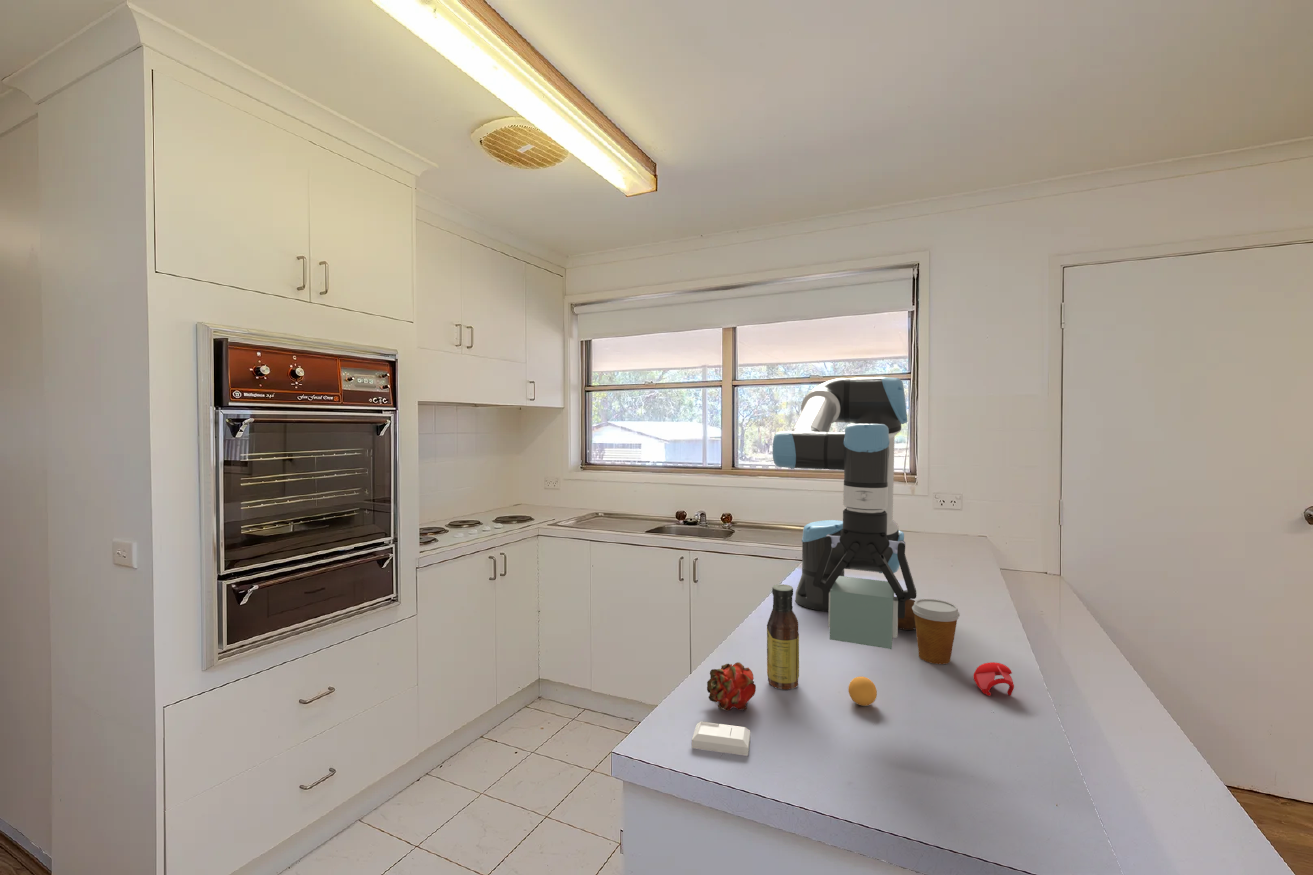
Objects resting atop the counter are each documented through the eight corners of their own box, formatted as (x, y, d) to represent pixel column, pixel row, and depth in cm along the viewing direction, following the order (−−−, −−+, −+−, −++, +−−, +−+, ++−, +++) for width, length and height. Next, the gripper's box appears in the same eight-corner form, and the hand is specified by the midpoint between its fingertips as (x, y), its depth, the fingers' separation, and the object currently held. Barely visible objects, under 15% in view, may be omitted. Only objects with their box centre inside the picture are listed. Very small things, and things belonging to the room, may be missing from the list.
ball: (846, 695, 104) (848, 707, 108) (876, 700, 103) (876, 712, 106) (848, 669, 108) (850, 681, 111) (877, 674, 106) (877, 686, 109)
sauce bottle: (778, 674, 119) (779, 579, 118) (805, 684, 115) (806, 586, 114) (759, 684, 114) (761, 586, 114) (786, 695, 110) (788, 593, 109)
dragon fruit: (709, 727, 102) (741, 709, 111) (746, 710, 98) (776, 693, 107) (689, 679, 105) (722, 666, 115) (724, 661, 101) (755, 649, 111)
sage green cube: (836, 620, 111) (837, 575, 111) (893, 628, 107) (894, 582, 106) (829, 639, 102) (830, 590, 101) (891, 649, 98) (892, 598, 97)
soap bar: (747, 758, 91) (748, 742, 91) (691, 750, 93) (691, 734, 93) (750, 741, 95) (750, 725, 95) (696, 734, 98) (696, 718, 97)
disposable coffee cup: (964, 669, 121) (966, 613, 121) (916, 665, 123) (917, 610, 123) (951, 651, 131) (952, 599, 130) (906, 647, 133) (907, 596, 132)
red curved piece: (1028, 685, 108) (1013, 657, 113) (1002, 677, 107) (987, 649, 112) (999, 707, 112) (985, 679, 117) (973, 699, 111) (961, 671, 116)
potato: (924, 627, 145) (925, 596, 145) (918, 640, 137) (919, 607, 137) (893, 621, 149) (894, 591, 149) (886, 633, 141) (886, 602, 141)
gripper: (797, 507, 105) (795, 627, 106) (935, 517, 95) (932, 648, 96) (804, 501, 111) (802, 614, 112) (934, 510, 102) (931, 632, 103)
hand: (862, 630), depth 104 cm, fingers closed on sage green cube, 10 cm apart
